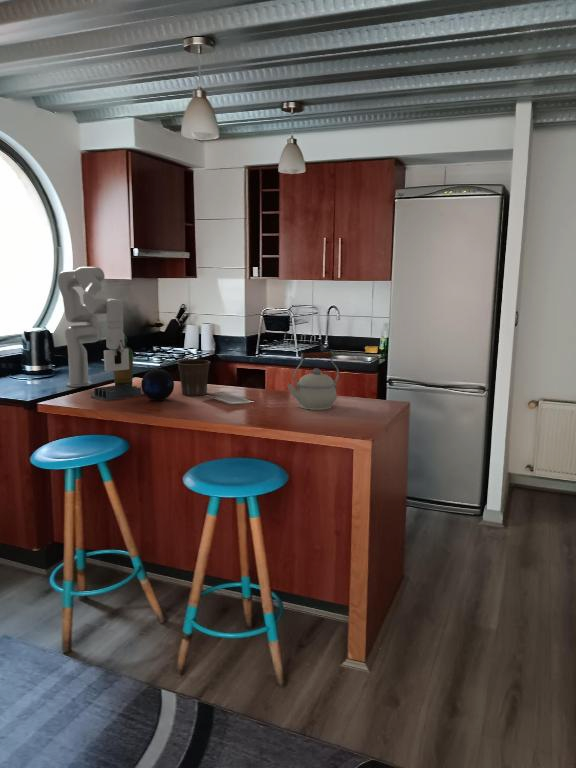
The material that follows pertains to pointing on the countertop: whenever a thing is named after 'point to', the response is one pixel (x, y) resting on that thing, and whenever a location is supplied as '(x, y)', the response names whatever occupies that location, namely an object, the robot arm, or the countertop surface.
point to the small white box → (110, 360)
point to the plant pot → (193, 376)
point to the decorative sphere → (157, 384)
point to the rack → (116, 392)
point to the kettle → (315, 386)
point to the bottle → (125, 375)
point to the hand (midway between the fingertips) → (116, 363)
